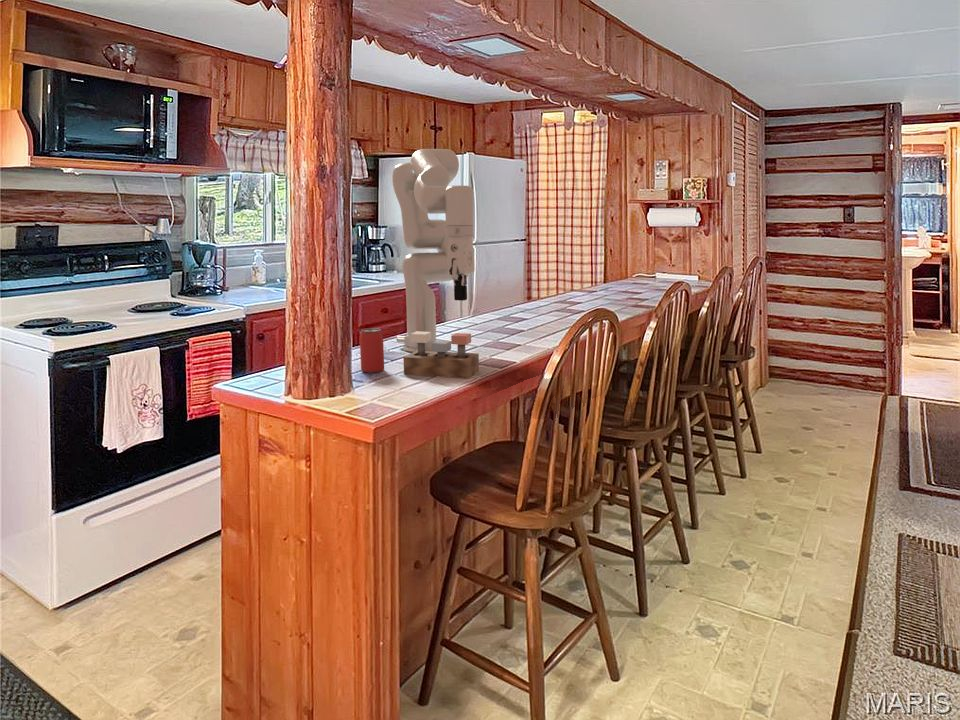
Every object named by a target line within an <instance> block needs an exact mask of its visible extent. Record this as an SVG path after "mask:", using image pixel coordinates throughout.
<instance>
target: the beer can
mask: <svg viewBox="0 0 960 720" xmlns="http://www.w3.org/2000/svg"><path fill="white" fill-rule="evenodd" d="M359 349H360V351H359V352H360V353H359V354H360V368H361V369H360V370H361V371H362V373H363V372H364V373H365V372H367V373H366V374H376V373H377V372H378V373H381V372H383V371H384V370H385V356H384V355H385V353H384V352H385V351H384V336H383V333H382V330H381V328H377V327H375V328H374V327H373V328H372V327H371V328H370V327H369V328H363V329H361V332H360V336H359ZM378 373H377V374H378Z"/></svg>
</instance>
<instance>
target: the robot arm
mask: <svg viewBox="0 0 960 720" xmlns="http://www.w3.org/2000/svg"><path fill="white" fill-rule="evenodd" d="M459 167H460V162H459V159H458V155H457V154H456V153H455V152H454V151H453V150H451V149H449V148H446V149H445V148H422V149H421V148H420V149H418V150H416V151H414V153H413V154H412V155H411V158H410V162H403V163H399V164H397V165H395V166H394V168H393V170H392V174H391V175H392V177H391V181H392V187H393V190H394V195H395V196H396V199H397V201H398V204H399V208H400V213H401V222H402V232H403V233H402V234H403V239H404V244H405V246H406V247H407V248H408V249H411V250H437V252H429V251H428V252H413V253H410V254H408V255H406V256H405V257H404V258H403V260H402V265H401V267H402V274H403V278H404V286H405V300H406V301H405V302H406V303H405V304H406V329H407V330H406V335H404V336H403V335H402V336H401V335H397V336H396V339H395V340H396V342H397V343H404V344H403V345H402V350H404V351H405V352H410V353H413V352H415V351H417V350H418V346H417V343H416V342H411V334H412V333H414V332H416V331H421V332H431V341H429V342H427V343H425V351H431V343H432V342H434V341H436V340H437V317H436V316H437V315H436V311H437V310H436V296H435V292H434V291H433V289H432V288H431V287H430V286H429V285H428V283H437V282H440V283H441V282H450V281H453V297H454V298H453V299H454V301H467V300H468V277H469V275H471V274H473V273H474V272H475V252H474V251H475V250H474V242H473V238H474V191H473V187H471V186H470V185H450V184H451V182H452V181H453V180H454V179H455V177H456V176H457V174H458V172H459ZM429 214H431V215H432V214H434V215H435V214H445V220H444V219H430V218H429Z"/></svg>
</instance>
